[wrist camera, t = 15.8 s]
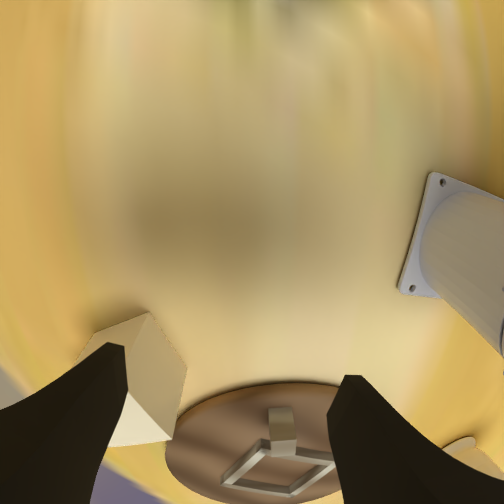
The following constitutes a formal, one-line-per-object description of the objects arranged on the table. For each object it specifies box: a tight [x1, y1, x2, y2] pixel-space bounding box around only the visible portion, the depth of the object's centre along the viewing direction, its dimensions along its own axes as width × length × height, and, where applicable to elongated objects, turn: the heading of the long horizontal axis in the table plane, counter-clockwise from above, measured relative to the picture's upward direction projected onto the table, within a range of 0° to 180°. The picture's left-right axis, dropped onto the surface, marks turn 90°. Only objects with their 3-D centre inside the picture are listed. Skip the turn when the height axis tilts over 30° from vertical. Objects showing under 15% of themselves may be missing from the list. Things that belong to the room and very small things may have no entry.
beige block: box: [71, 312, 187, 447], centre depth 17 cm, size 8×5×6 cm, turn 114°
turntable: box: [165, 383, 341, 504], centre depth 22 cm, size 20×20×4 cm
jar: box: [442, 437, 504, 480], centre depth 21 cm, size 11×10×15 cm
